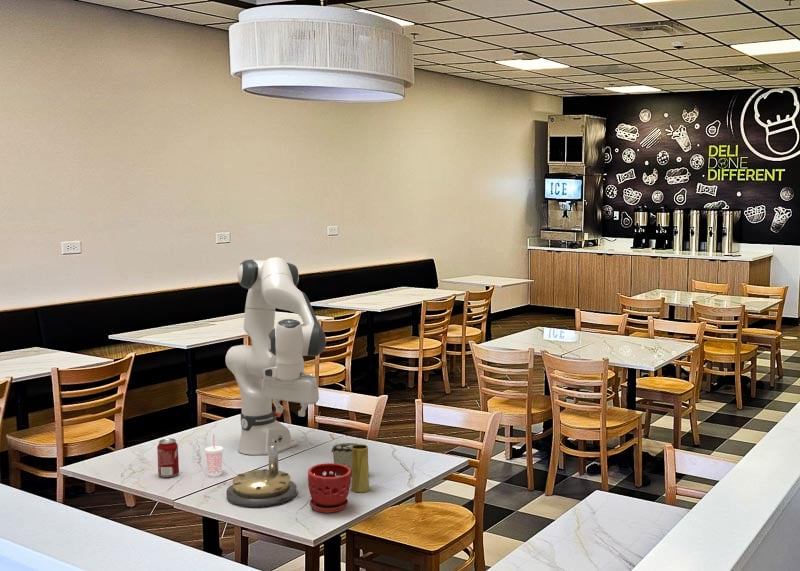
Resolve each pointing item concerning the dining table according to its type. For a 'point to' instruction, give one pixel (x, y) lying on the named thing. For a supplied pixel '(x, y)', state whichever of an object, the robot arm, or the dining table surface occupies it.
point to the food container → (343, 455)
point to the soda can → (168, 458)
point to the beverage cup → (214, 459)
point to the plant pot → (329, 487)
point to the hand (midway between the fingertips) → (290, 414)
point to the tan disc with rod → (263, 479)
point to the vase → (360, 469)
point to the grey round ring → (261, 502)
